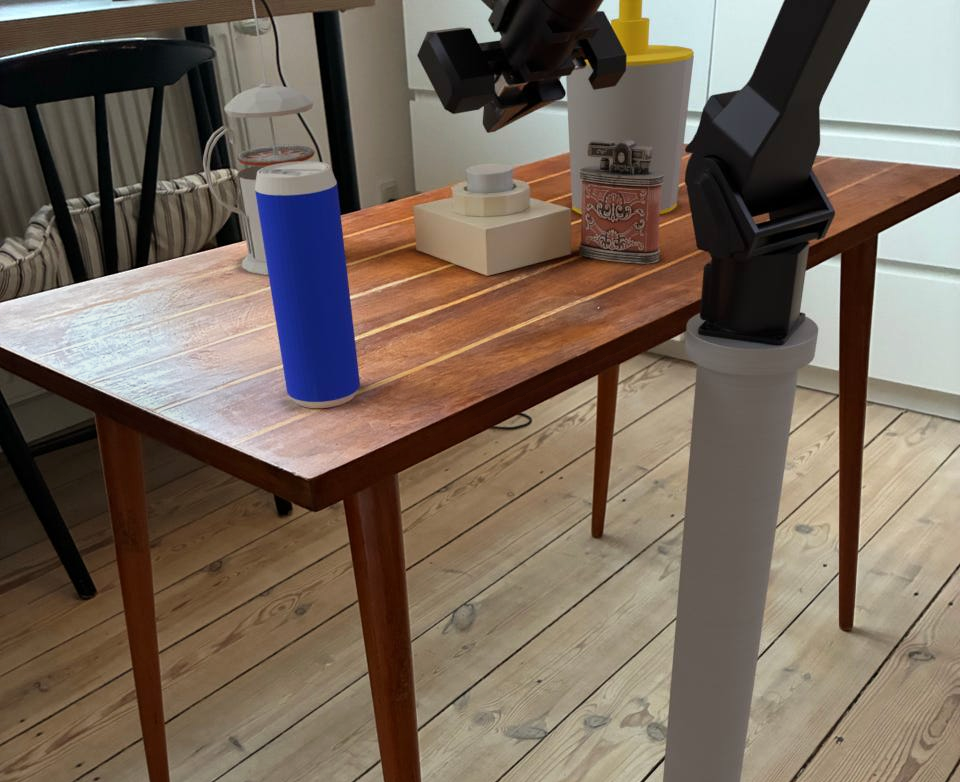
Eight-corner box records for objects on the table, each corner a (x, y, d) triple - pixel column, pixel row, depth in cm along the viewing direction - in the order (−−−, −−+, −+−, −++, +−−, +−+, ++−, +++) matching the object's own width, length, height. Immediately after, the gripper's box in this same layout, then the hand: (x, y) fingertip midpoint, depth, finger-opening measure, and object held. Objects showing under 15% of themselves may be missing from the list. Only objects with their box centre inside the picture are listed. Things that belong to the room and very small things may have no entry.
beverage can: (372, 385, 75) (348, 161, 66) (342, 413, 71) (312, 179, 62) (308, 379, 76) (276, 159, 68) (275, 406, 72) (236, 177, 64)
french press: (354, 264, 100) (318, -47, 85) (234, 284, 96) (176, -37, 82) (326, 241, 107) (289, -49, 93) (214, 258, 104) (157, -40, 89)
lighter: (665, 256, 98) (672, 140, 92) (649, 266, 95) (656, 147, 90) (589, 246, 101) (591, 134, 95) (572, 255, 99) (573, 141, 93)
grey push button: (522, 191, 98) (522, 168, 96) (485, 199, 96) (484, 176, 94) (495, 184, 100) (494, 161, 99) (457, 192, 98) (456, 168, 97)
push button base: (571, 254, 100) (571, 187, 96) (487, 276, 95) (484, 207, 91) (496, 230, 108) (494, 168, 104) (416, 250, 103) (411, 185, 100)
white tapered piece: (576, 190, 120) (578, -26, 108) (690, 192, 117) (706, -31, 105) (552, 219, 110) (551, -16, 98) (676, 222, 107) (691, -20, 95)
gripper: (609, -104, 86) (528, 41, 100) (420, -92, 77) (361, 64, 91) (670, 12, 85) (581, 141, 99) (487, 36, 77) (417, 174, 90)
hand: (488, 127), depth 95 cm, fingers closed
